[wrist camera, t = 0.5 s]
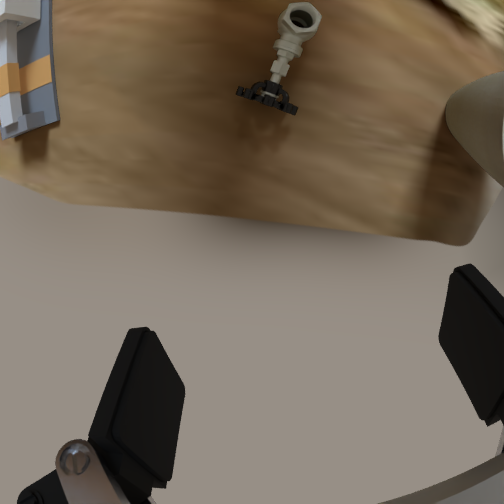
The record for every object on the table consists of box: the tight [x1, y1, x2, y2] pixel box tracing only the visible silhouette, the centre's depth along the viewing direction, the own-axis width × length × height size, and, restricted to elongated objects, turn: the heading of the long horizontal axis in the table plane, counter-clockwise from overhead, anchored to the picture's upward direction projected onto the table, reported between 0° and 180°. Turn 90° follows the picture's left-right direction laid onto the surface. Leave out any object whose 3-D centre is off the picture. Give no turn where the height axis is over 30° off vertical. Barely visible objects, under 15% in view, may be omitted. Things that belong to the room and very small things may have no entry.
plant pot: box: [445, 71, 504, 187], centre depth 25 cm, size 15×15×16 cm
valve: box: [236, 2, 322, 115], centre depth 28 cm, size 7×7×12 cm
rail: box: [0, 0, 60, 140], centre depth 25 cm, size 23×9×6 cm, turn 5°
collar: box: [0, 0, 41, 32], centre depth 20 cm, size 4×7×8 cm, turn 95°
